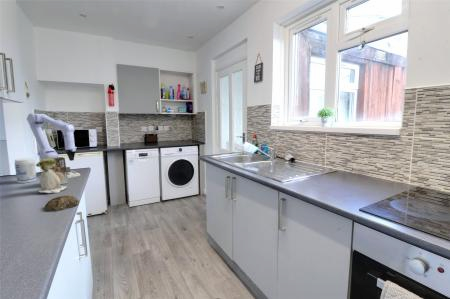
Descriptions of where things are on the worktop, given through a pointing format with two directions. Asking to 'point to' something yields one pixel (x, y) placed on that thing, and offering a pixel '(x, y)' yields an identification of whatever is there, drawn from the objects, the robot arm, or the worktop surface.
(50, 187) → the off-white lumpy piece
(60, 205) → the bread roll
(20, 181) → the supplement tub
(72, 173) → the panel
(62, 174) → the coffee box
